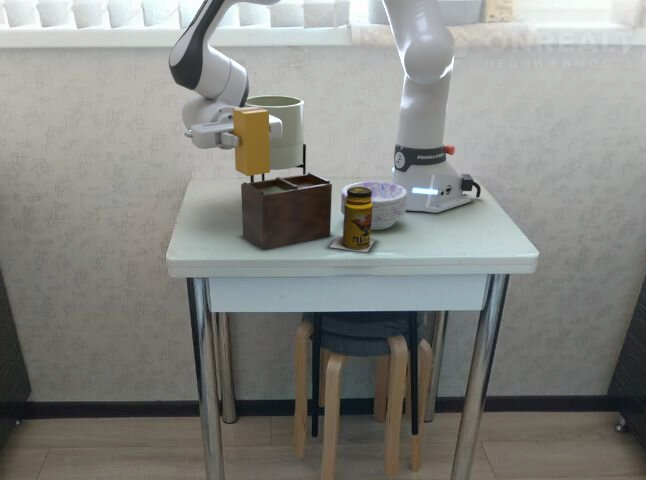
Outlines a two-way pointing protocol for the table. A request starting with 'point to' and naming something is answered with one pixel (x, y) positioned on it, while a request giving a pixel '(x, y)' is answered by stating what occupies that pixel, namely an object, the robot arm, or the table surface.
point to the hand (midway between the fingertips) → (254, 139)
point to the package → (252, 140)
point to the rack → (286, 210)
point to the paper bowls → (382, 202)
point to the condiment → (356, 221)
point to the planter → (284, 131)
